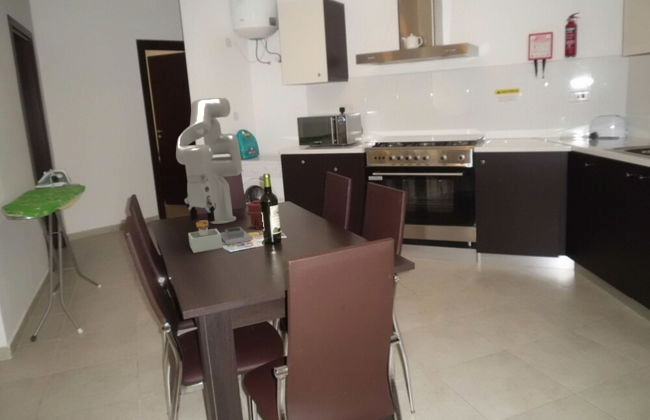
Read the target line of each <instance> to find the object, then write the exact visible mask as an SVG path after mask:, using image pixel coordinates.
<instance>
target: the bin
mask: <svg viewBox="0 0 650 420" xmlns="http://www.w3.org/2000/svg"><path fill="white" fill-rule="evenodd" d="M220 233H221V232H219V230H218V229H217V228H211V229H208V234H209V236H205V237H200V236H199V230H198V231H192V232H188V233H187V234H188V242H189V247H190V249H191V251H192V252H193V254H194V253H195V254H196V253H200V252H207V251H212V250H218V249H223V240H222V238H221V234H220Z"/></svg>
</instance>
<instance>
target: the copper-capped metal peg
mask: <svg viewBox="0 0 650 420" xmlns="http://www.w3.org/2000/svg"><path fill="white" fill-rule="evenodd" d="M195 225H196V228H198V231H199V236H200V237H205V236H209V234H208V230H209V229H208V228H209V226H210V224H209V222H208V219H203V220H197V221H196V223H195Z"/></svg>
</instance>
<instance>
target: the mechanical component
mask: <svg viewBox="0 0 650 420" xmlns="http://www.w3.org/2000/svg"><path fill="white" fill-rule="evenodd" d="M260 201H261V200H260V199H259V200H257V199H256V200H253V201H252V202H249V203H248V204H247V207H248V208H247V209H248V210H246V215H247V216H249V217H250V223H251V224H250V225H251V226H252V227H254V228H255V229H256V230H259V229H262V228H264V227H263V222H262V214H261V207H260Z"/></svg>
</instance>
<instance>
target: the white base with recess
mask: <svg viewBox="0 0 650 420" xmlns="http://www.w3.org/2000/svg"><path fill="white" fill-rule="evenodd" d="M219 233H220V234H221V239H223V240H222V242H224V244H225V245H226V244H228V245H233V244H232V243H234V244H238V243H237V242H240V243H244V242H243V241H245V242H249V240H251V236H250V234H248V232H246V230H244V229H243V228H242V227H240V226H238V227H231V228H224V231H221V232H219Z"/></svg>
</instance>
